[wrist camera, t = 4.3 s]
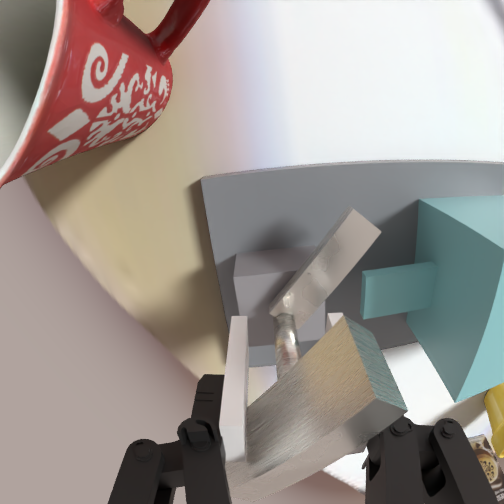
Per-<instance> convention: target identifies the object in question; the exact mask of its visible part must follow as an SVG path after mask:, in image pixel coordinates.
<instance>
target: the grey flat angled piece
mask: <svg viewBox="0 0 504 504" xmlns="http://www.w3.org/2000/svg"><path fill="white" fill-rule="evenodd" d="M380 233H381V231H380V230H379V229H378V228H377V227H376V226H374V225H373V224H372V223H371V222H370V221H368V220H367V219H366V218H365V217H363V216H362V215H361V214H360V213H358V212H357V211H356V210H355V209H353V208H352V207H351V206H350V205H348V207H347V208H346V209H345V211H344V212H343V213H342V215H341V216H340V217H339V219H338V220H337V221H336V222H335V224H334V225H333V226H332V228H331V229H330V230H329V232H328V233H327V234H326V235H325V237H324V238H323V239H322V240H321V242H320V243H319V244H318V246H317V247H316V248H315V249H314V251H313V252H312V253H311V254H310V256H309V257H308V258H307V259H306V261H305V262H304V263H303V264H302V266H301V267H300V268H299V269H298V271H297V272H296V273H295V274H294V276H293V277H292V278H291V279H290V280H289V282H288V283H287V284H286V285H285V287H284V288H283V289H282V290H281V291H280V293H279V294H278V295H277V296H276V297H275V299H274V300H273V301H272V302H271V303H270V305H269V314H271V315H273V327H274V340H275V353H276V366H277V380H278V381H277V382H276V383H274V384H273V385H272V386H271V387H270V388H269V389H268V390H267V391H266V392H265V393H263V394H262V395H261V396H260V397H259V398H258V399H257V400H256V401H254V402H253V403H252V404H251V405H250V406H249V407H247V433H246V462H231V461H226V460H225V470H226V475H227V481H228V486H229V491H230V496H231V497H233V498H238V499H243V500H247V501H252V502H255V501H257V500H260V499H262V498H264V497H267V496H269V495H271V494H274V493H276V492H278V491H280V490H282V489H284V488H286V487H289V486H291V485H293V484H295V483H297V482H298V481H301V480H303V479H305V478H306V477H308V476H310V475H312V474H314V473H316V472H317V471H319V470H321V469H323V468H325V467H327V466H328V465H330V464H332V463H333V462H335V461H337V460H338V459H340V458H342V457H343V456H345V455H347V454H348V453H350V452H351V451H353V450H355V449H356V448H358V447H359V446H361V445H362V444H364V443H365V442H367V441H368V440H370V439H371V438H373V437H374V436H375V435H377V434H378V433H380V432H381V431H382V430H384V429H385V428H387V427H388V426H389V425H391V424H392V423H393V422H395V421H396V420H397V419H398V418H400V417H401V416H402V415H404V414H405V413H406V412H407V411H408V409H407V407H406V405H405V402H404V400H403V398H402V396H401V393H400V391H399V389H398V387H397V384H396V382H395V380H394V378H393V376H392V373H391V371H390V369H389V367H388V365H387V363H386V360H385V358H384V356H383V354H382V352H381V350H380V348H379V346H378V344H377V342H376V339H375V337H374V335H373V333H372V332H370V331H369V330H367V329H366V328H364V327H362V326H361V325H359V324H357V323H356V322H354V321H353V320H351V319H349V318H348V317H346V316H344V315H343V316H342V317H341V318H340V319H339V320H338V321H337V322H336V323H335V324H334V326H333V327H332V328H331V329H330V330H329V331H328V332H327V333H326V334H325V335H324V336H323V337H322V338H321V339H320V340H319V341H318V342H317V343H316V344H315V345H314V346H313V347H312V348H311V349H310V350H309V351H308V352H307V353H306V354H305V355H304V356H303V357H301V351H300V346H299V340H298V334H297V329H299V328H300V327H301V326H302V325H303V324H304V323H305V322H306V321H307V320H308V319H309V317H310V316H311V315H312V314H313V313H314V312H315V311H316V310H317V309H318V307H319V306H320V305H321V304H322V303H323V302H324V301H325V300H326V298H327V297H328V296H329V295H330V294H331V293H332V292H333V290H334V289H335V288H336V287H337V286H338V285H339V284H340V282H341V281H342V280H343V279H344V278H345V276H346V275H347V274H348V273H349V272H350V271H351V269H352V268H353V267H354V266H355V265H356V263H357V262H358V261H359V260H360V258H361V257H362V256H363V255H364V254H365V252H366V251H367V250H368V249H369V247H370V246H371V245H372V244H373V242H374V241H375V240H376V239H377V237H378V236H379V235H380Z"/></svg>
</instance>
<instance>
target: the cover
mask: <svg viewBox="0 0 504 504" xmlns="http://www.w3.org/2000/svg"><path fill="white" fill-rule="evenodd" d="M403 312H408V314H407V320H406V323H407V324H408V326H409V327H410V329H411V330H412V332H413V334H414V335H415V337H416V338H417V340H418V341H419V343H420V345H421V346H422V348H423V349H424V351H425V353H426V354H427V356H428V357H429V359H430V361H431V362H432V364H433V366H434V367H435V369H436V371H437V372H438V374H439V376H440V378H441V379H442V381H443V383H444V384H445V386H446V388H447V390H448V391H449V393H450V395H451V397H452V399H453V400H454V402H455V403H456V402H459V401H461V400H464V399H466V398H469V397H471V396H474V395H476V394H479V393H481V392H483V391H486V390H488V389H490V388H493V387H495V386H497V385H499V384H501V383H503V382H504V195H493V196H465V197H444V198H426V199H419V206H418V227H417V241H416V253H415V263H414V264H410V265H403V266H396V267H388V268H381V269H374V270H366V271H362V287H361V304H360V314H361V316H362V318H363V319H369V318H375V317H381V316H387V315H392V314H398V313H403Z"/></svg>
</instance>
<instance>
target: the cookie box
mask: <svg viewBox="0 0 504 504" xmlns="http://www.w3.org/2000/svg"><path fill="white" fill-rule="evenodd" d="M468 440H469V442H470V444H471V446H472V448H473V450H474V452H475V454H476V456H477V458H478V460H479V462H480V464H481V466H482V468H483V470H484V472H485V474H486V476H487V478H488V481H489V483H490V485H491V487H492V489H493V492H494V494H495V496H496V498H497V501H498V503H499V504H504V474H503V472H502V470H501V467H500V465H499V463H498V461H497V459H496V457H495V455H494V453H493V451H492V449H491V447H490V445H489V443H488V441H487V439H486V437H485V435H484V434H483V435H480V436H476V437H472V438H468Z"/></svg>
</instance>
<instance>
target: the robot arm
mask: <svg viewBox="0 0 504 504" xmlns="http://www.w3.org/2000/svg"><path fill="white" fill-rule="evenodd" d="M342 316H343V313H342V312H341V313H328V315H327V323H326V331H325V334H326V333H327V332H328V331H329V330H330V329H331V328H332V327H333V326H334V324H335V323H336V322H337V321H338V320H339V319H340V318H341V317H342ZM248 371H249V347H248V324H247V316H232V318H231V326H230V334H229V343H228V351H227V359H226V368H225V375H213V374H204V375H203V377H202V378H201V379H200V381H199V382H198V385H197V390H196V395H195V401H194V405H193V410H192V415H191V418H188V419H187V420H185V421H183V422H182V423H181V425H180V426H179V427H178V431H177V434H178V436H179V439H180V440H178V441H175V442H172V443H165V444H159V445H158V444H156V443H155V442H154V441H152V440H149V439H140V440H137V441H135V442H133V443H132V444H130V445H129V447H128V448H127V451H126V453H125V456H124V458H123V461H122V464H121V467H120V470H119V473H118V476H117V478H116V481H115V484H114V487H113V490H112V492H111V495H110V498H109V501H108V504H173V500H174V495H175V491H176V487H182V486H185V492H186V502H187V504H232V502H231V496H230V491H229V486H228V481H227V475H226V470H225V460H226V461H231V462H246V433H247V402H248ZM366 446H367V449H368V453H369V454H368V456H367V458H366V460H365V461H364V463H363V465H362V469H364V468H365V467H366V499H365V504H499V503H498V501H497V498H496V496H495V494H494V492H493V489H492V487H491V485H490V483H489V481H488V478H487V476H486V474H485V472H484V470H483V468H482V466H481V464H480V462H479V460H478V458H477V456H476V454H475V452H474V450H473V448H472V446H471V444H470V442H469V440H468V438H467V437H466V435H465V433H464V431H463V429H462V427H461V426H460V424H459V423H458V422H457V421H455V420H453V419H449V418H445V419H441V420H439V421H438V422H437V423H436V424H435V426H426V425H416V424H414V423H413V422H412V421H411V420H410V419H408V418H406V417H404V415H402V416H401V417H400V418H398V419H397V420H396V421H395V422H393V423H392V424H391V425H389V426H388V427H387V428H385V429H384V430H382V431H381V432H380V433H378V434H377V435H375V436H374V437H373V438H371V439H370V440H368V441H367V442H365V443H364V444H362V445H361V446H359V447H358V448H356V449H355V450H353V451H351V452H350V453H348V454H347V455H349V454H355V453H361V452H364V450H365V448H366Z"/></svg>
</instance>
